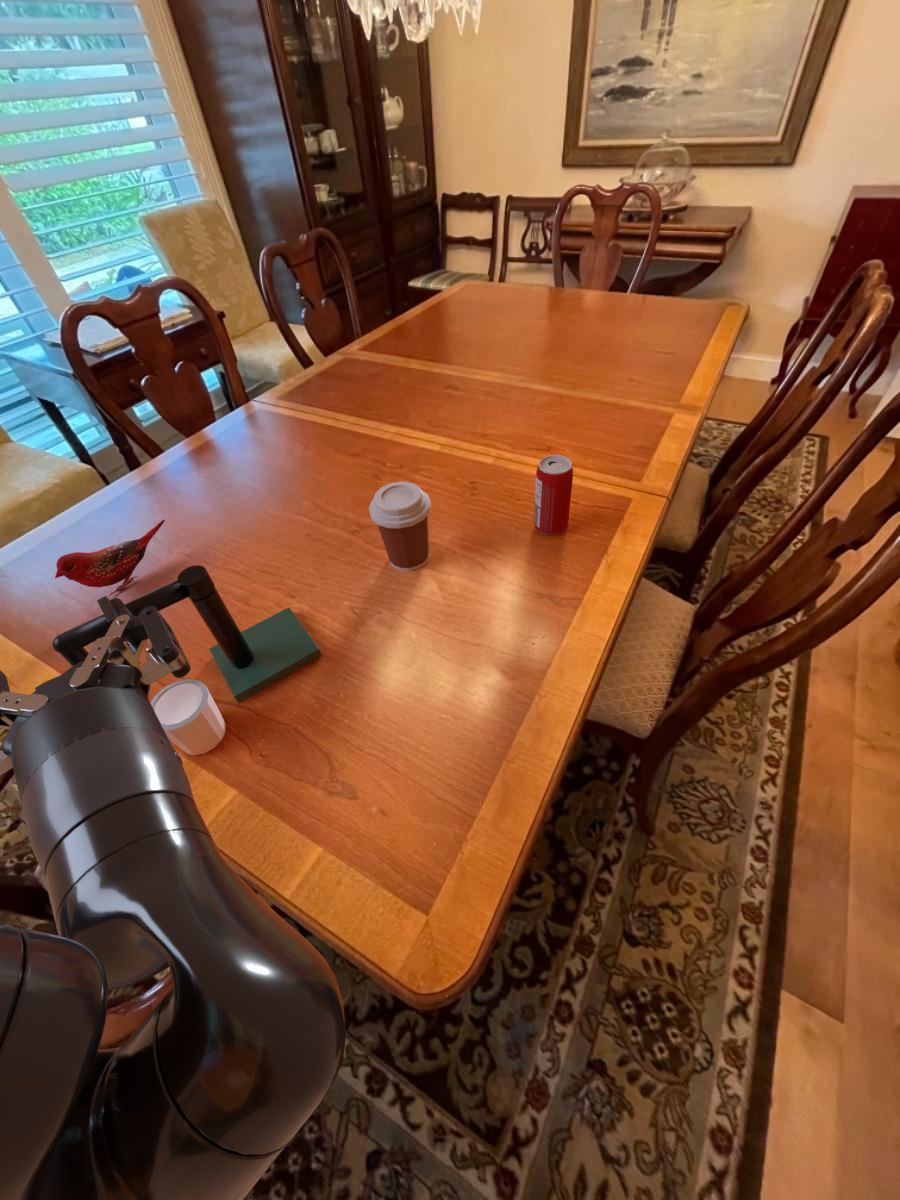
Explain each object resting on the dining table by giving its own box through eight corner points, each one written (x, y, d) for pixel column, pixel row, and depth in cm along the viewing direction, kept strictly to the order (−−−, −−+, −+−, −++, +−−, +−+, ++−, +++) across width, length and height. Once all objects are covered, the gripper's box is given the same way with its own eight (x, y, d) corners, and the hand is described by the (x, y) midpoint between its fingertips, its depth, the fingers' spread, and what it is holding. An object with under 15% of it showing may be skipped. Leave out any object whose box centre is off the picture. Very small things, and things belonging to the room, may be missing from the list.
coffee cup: (426, 581, 81) (416, 518, 72) (371, 571, 83) (355, 509, 75) (445, 543, 87) (438, 480, 78) (394, 535, 89) (381, 473, 81)
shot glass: (162, 749, 65) (132, 719, 60) (199, 703, 69) (175, 671, 64) (206, 767, 62) (179, 737, 57) (242, 718, 67) (220, 687, 62)
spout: (73, 675, 57) (49, 651, 54) (68, 656, 58) (44, 632, 56) (224, 601, 63) (210, 575, 60) (215, 586, 64) (201, 561, 61)
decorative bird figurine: (81, 611, 83) (40, 563, 75) (176, 545, 92) (148, 497, 85) (91, 618, 81) (50, 570, 74) (186, 550, 91) (158, 502, 84)
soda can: (574, 528, 87) (582, 464, 78) (547, 541, 85) (551, 477, 76) (554, 511, 90) (559, 448, 81) (527, 523, 89) (529, 459, 80)
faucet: (238, 703, 68) (189, 629, 58) (213, 654, 74) (164, 580, 64) (322, 655, 73) (290, 579, 62) (292, 613, 79) (258, 537, 68)
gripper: (192, 672, 30) (117, 550, 40) (-94, 849, 25) (-101, 659, 35) (245, 739, 36) (167, 618, 45) (19, 897, 30) (-15, 721, 40)
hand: (51, 636), depth 40 cm, fingers open, 8 cm apart
